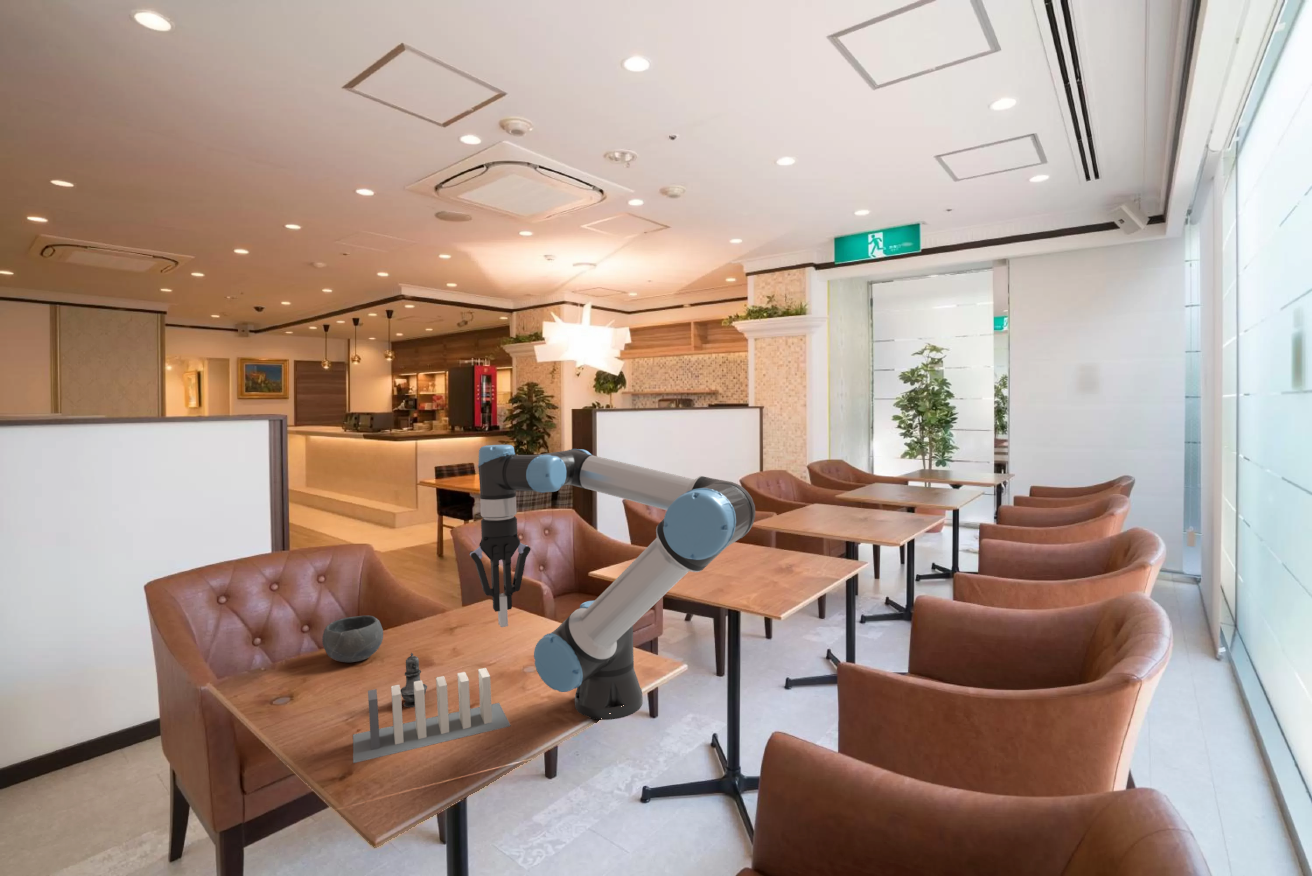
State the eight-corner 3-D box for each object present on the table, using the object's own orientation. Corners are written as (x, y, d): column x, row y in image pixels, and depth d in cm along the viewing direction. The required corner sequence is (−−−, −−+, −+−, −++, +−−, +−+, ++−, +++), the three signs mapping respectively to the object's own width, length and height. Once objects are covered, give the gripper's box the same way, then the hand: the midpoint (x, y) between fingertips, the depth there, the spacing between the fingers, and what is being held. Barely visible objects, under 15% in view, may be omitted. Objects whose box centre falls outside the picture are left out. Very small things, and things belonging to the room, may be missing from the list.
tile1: (487, 712, 143) (485, 667, 142) (492, 722, 138) (490, 676, 138) (480, 714, 142) (478, 669, 142) (484, 724, 138) (482, 677, 137)
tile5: (401, 731, 136) (399, 684, 135) (403, 742, 131) (401, 694, 130) (393, 733, 135) (391, 686, 134) (395, 744, 130) (392, 695, 130)
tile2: (467, 717, 141) (465, 671, 140) (471, 727, 137) (468, 680, 136) (459, 718, 140) (457, 673, 140) (463, 729, 136) (460, 682, 135)
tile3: (446, 721, 139) (443, 676, 139) (449, 732, 135) (447, 685, 134) (438, 723, 139) (436, 677, 138) (441, 734, 134) (438, 686, 133)
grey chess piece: (401, 712, 145) (398, 659, 144) (400, 701, 150) (397, 650, 150) (429, 706, 147) (426, 654, 147) (426, 696, 153) (424, 646, 152)
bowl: (389, 660, 175) (388, 624, 174) (328, 675, 166) (326, 636, 166) (378, 644, 187) (376, 610, 186) (320, 657, 179) (318, 621, 178)
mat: (499, 704, 147) (499, 702, 147) (510, 727, 137) (510, 726, 137) (353, 736, 135) (353, 734, 135) (353, 765, 124) (353, 763, 124)
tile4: (424, 726, 137) (421, 680, 137) (426, 737, 133) (424, 689, 132) (416, 728, 137) (413, 681, 136) (418, 739, 132) (415, 691, 132)
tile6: (379, 736, 134) (376, 689, 133) (379, 748, 129) (377, 698, 129) (370, 738, 133) (367, 690, 132) (371, 750, 128) (368, 700, 128)
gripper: (524, 511, 146) (528, 615, 147) (464, 517, 140) (469, 624, 142) (533, 516, 139) (537, 625, 141) (470, 522, 134) (475, 635, 135)
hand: (503, 624), depth 141 cm, fingers closed
